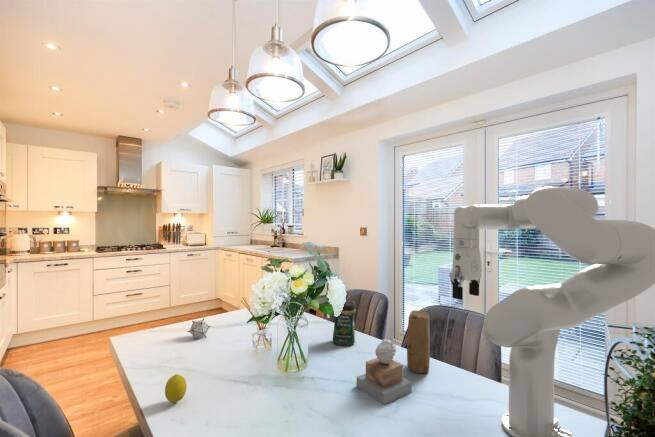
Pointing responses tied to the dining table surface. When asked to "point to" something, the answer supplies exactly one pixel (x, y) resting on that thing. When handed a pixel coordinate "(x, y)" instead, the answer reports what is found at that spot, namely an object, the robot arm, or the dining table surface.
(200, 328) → the grey spiky faceted part
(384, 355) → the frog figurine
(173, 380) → the lemon
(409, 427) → the dining table surface
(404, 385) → the slate plinth
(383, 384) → the walnut block
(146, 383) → the dining table surface
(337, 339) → the coffee jar
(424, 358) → the block
